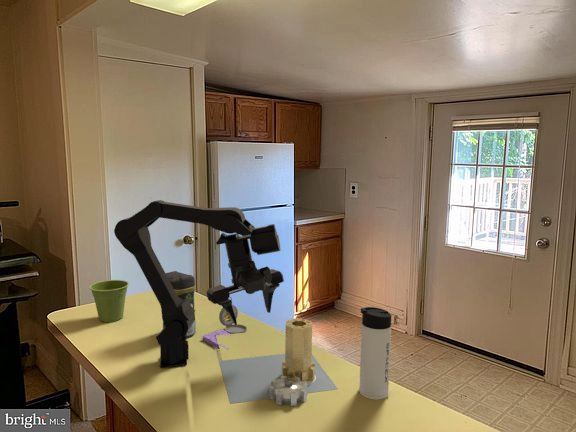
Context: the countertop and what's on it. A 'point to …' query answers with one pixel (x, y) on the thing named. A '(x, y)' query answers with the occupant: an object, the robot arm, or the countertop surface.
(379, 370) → the travel mug
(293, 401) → the gear
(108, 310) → the plant pot
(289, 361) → the gear
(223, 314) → the pocket watch
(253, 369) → the gear board
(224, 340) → the countertop surface
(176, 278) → the coffee jar
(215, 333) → the sponges
